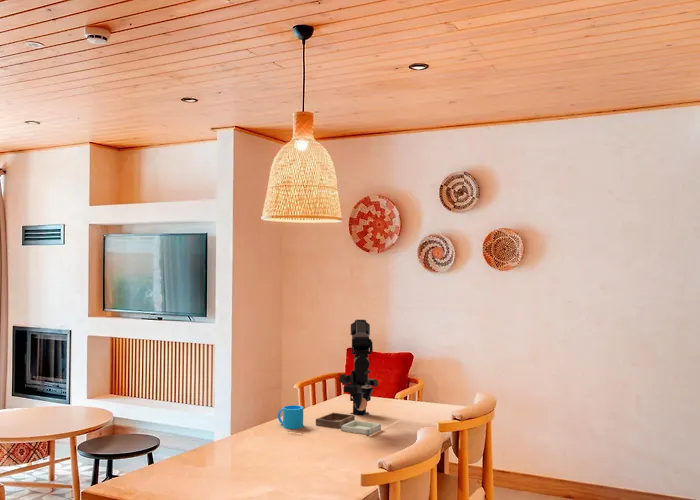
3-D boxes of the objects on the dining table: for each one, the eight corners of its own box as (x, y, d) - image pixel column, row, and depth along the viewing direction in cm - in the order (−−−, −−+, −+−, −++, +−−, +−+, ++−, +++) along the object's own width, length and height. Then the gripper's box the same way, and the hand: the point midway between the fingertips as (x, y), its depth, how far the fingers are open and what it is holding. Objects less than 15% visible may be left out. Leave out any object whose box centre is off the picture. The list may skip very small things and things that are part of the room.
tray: (354, 426, 251) (354, 420, 251) (380, 430, 245) (380, 423, 245) (340, 432, 241) (340, 426, 241) (368, 436, 235) (368, 430, 235)
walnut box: (332, 419, 262) (332, 412, 262) (354, 422, 257) (354, 415, 257) (315, 426, 250) (315, 419, 250) (338, 429, 245) (338, 422, 245)
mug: (307, 427, 249) (307, 407, 249) (294, 431, 242) (294, 410, 242) (284, 423, 255) (284, 403, 256) (271, 427, 249) (271, 406, 249)
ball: (358, 408, 247) (358, 395, 247) (369, 409, 244) (369, 397, 244) (352, 410, 242) (352, 397, 243) (363, 412, 240) (363, 399, 240)
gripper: (354, 363, 256) (354, 401, 255) (331, 369, 240) (331, 409, 239) (378, 365, 251) (378, 404, 250) (356, 371, 234) (356, 413, 234)
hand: (361, 407), depth 243 cm, fingers closed on ball, 5 cm apart
